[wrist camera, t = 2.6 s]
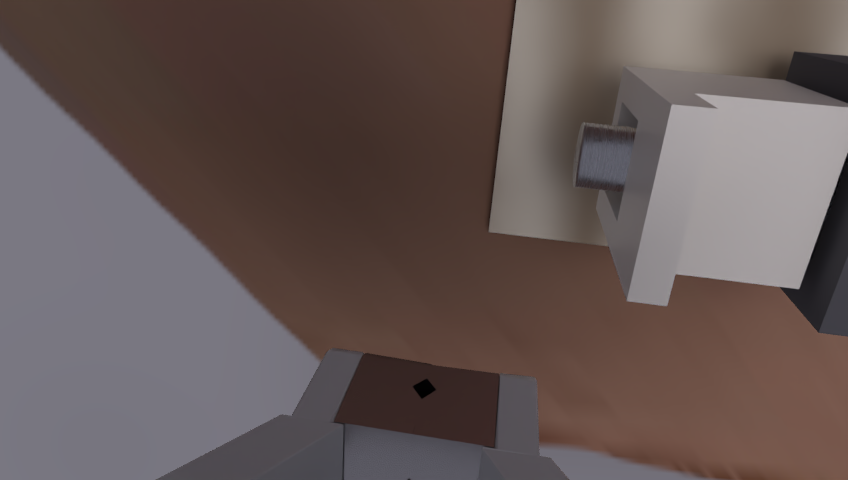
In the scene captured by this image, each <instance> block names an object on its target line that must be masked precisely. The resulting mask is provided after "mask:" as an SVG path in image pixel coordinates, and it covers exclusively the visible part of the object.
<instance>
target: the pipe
mask: <svg viewBox="0 0 848 480" xmlns="http://www.w3.org/2000/svg"><path fill="white" fill-rule="evenodd" d="M636 129H637V128H636V127H626V126H616V125H605V124H595V123H585V122H583V123H582V125H581V127H580V130H579V134H578V139H577V144H576V149H575V156H574V164H573V187H578V188H587V189H596V190H605V191H614V192H623V191H624V187H625V182H626V177H627V172H628V168H629V163H630V158H631V153H632V148H633V144H634V139H635V134H636ZM847 161H848V153H847V156H846V159H845V161H844V164H843V167H842V170H841V173H840V175H839V178H838V181H837V184H836V187H835V190H834V192H833V195H832V198H831V201H830V204H829V206H828V209H827V212H826V215H828V214H829V211H830V208H831V206H832V203H833V200H834V197H835V194H836V192H837V189H838V186H839V183H840V180H841V178H842V175H843V172H844V169H845V166H846V164H847Z"/></svg>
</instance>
